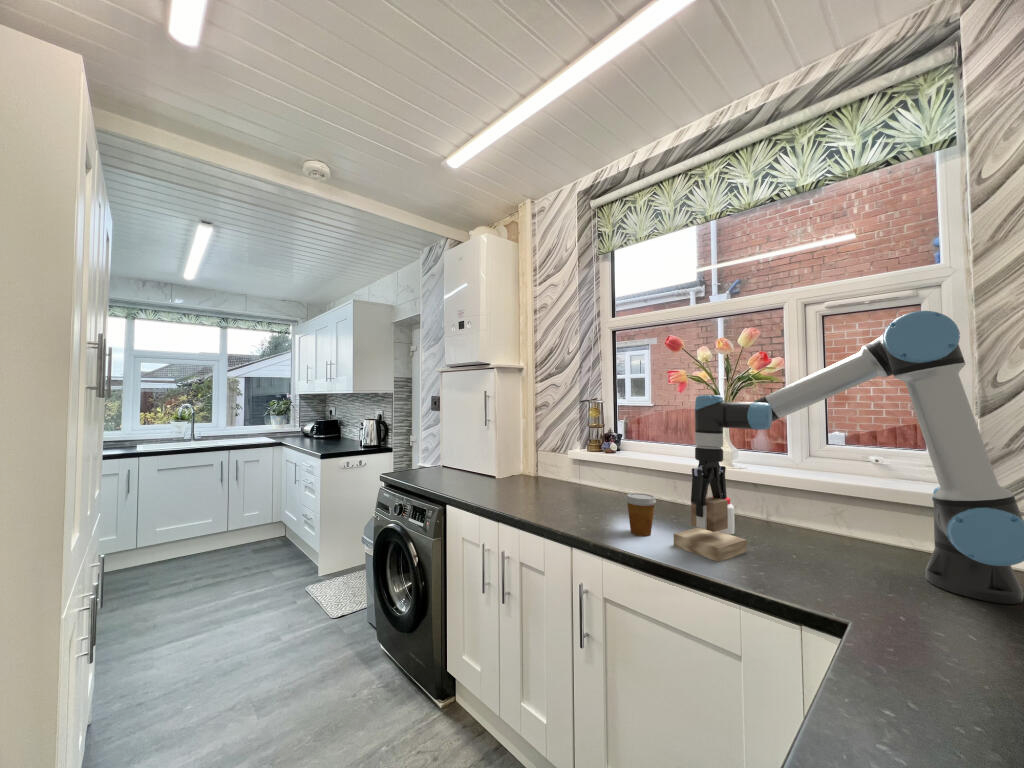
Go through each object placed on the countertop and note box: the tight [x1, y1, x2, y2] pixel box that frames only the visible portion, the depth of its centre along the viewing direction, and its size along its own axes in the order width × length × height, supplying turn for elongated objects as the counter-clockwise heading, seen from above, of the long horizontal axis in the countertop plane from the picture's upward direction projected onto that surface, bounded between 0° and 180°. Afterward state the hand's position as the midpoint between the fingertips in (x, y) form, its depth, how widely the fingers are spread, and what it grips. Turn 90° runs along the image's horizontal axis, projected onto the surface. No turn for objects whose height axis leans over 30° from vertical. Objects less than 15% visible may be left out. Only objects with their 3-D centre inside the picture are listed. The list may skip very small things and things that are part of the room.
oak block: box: [673, 527, 748, 563], centre depth 119 cm, size 14×14×4 cm
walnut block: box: [690, 495, 728, 532], centre depth 120 cm, size 7×7×8 cm
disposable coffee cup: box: [625, 492, 657, 537], centre depth 133 cm, size 10×10×12 cm
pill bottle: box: [711, 495, 735, 535], centre depth 137 cm, size 8×8×11 cm
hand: (709, 525), depth 119 cm, fingers closed on walnut block, 7 cm apart
